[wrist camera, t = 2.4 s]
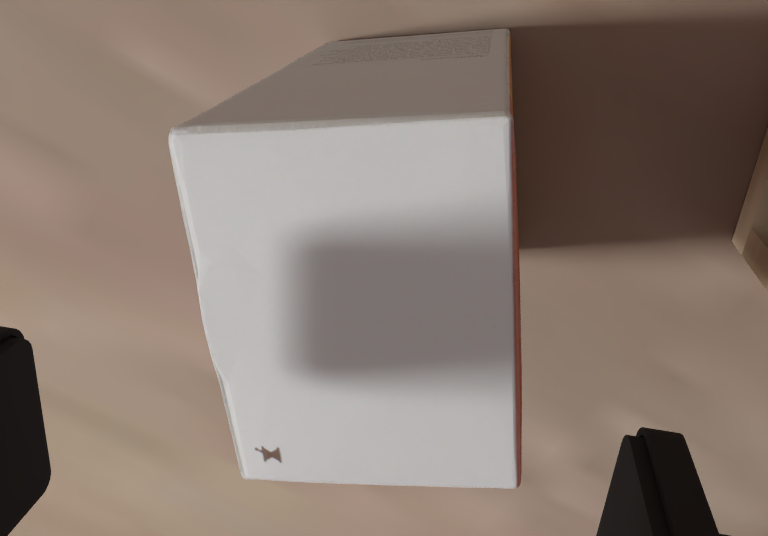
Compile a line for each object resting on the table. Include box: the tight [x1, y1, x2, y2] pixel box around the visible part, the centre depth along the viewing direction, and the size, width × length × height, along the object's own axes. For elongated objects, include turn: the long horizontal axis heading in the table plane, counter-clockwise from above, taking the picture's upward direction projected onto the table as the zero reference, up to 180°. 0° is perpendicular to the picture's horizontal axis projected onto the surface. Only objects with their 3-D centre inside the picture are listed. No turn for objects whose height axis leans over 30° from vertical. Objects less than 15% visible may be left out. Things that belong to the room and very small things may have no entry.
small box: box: [169, 29, 522, 489], centre depth 19 cm, size 8×6×13 cm
